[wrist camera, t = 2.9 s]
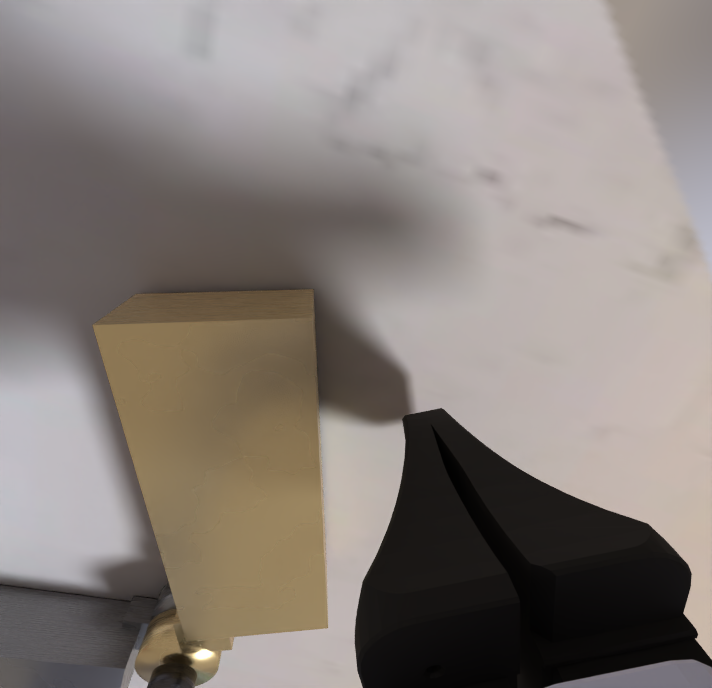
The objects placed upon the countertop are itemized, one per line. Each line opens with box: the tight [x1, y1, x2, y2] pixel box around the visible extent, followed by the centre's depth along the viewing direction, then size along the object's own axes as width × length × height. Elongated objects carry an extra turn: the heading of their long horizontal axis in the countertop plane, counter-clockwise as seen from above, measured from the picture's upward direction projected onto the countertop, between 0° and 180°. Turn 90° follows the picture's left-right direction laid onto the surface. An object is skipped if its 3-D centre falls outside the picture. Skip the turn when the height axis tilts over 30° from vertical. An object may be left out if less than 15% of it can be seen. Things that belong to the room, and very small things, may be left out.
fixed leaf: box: [0, 583, 197, 688], centre depth 15 cm, size 7×15×4 cm, turn 70°
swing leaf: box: [92, 289, 328, 686], centre depth 13 cm, size 7×15×2 cm, turn 0°
